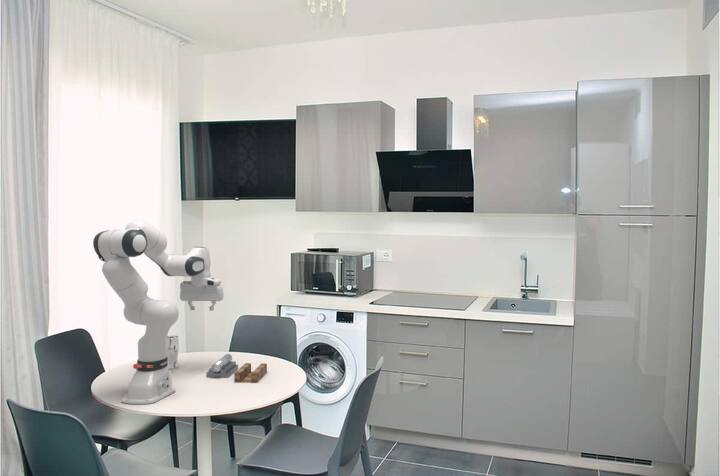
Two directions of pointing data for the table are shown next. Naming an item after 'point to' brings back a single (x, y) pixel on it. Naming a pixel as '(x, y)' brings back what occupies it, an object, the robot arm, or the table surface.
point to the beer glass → (172, 351)
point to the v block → (223, 371)
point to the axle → (221, 363)
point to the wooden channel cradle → (250, 373)
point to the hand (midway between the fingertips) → (202, 310)
